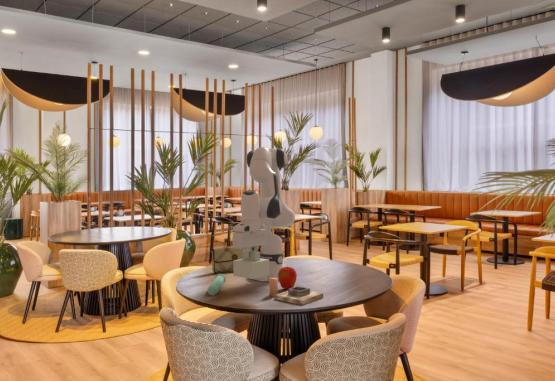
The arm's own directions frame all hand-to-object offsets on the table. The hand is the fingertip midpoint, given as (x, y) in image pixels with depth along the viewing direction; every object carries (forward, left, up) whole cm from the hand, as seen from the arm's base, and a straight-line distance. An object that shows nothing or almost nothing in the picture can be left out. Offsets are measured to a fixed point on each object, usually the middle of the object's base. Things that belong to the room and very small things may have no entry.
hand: (251, 256), depth 214 cm
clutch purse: (-54, +42, -21) cm, 71 cm away
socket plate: (+15, +16, -20) cm, 30 cm away
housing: (0, 0, -9) cm, 9 cm away
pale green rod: (-29, +4, -21) cm, 35 cm away
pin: (+2, +13, -20) cm, 24 cm away
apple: (0, +26, -20) cm, 33 cm away
